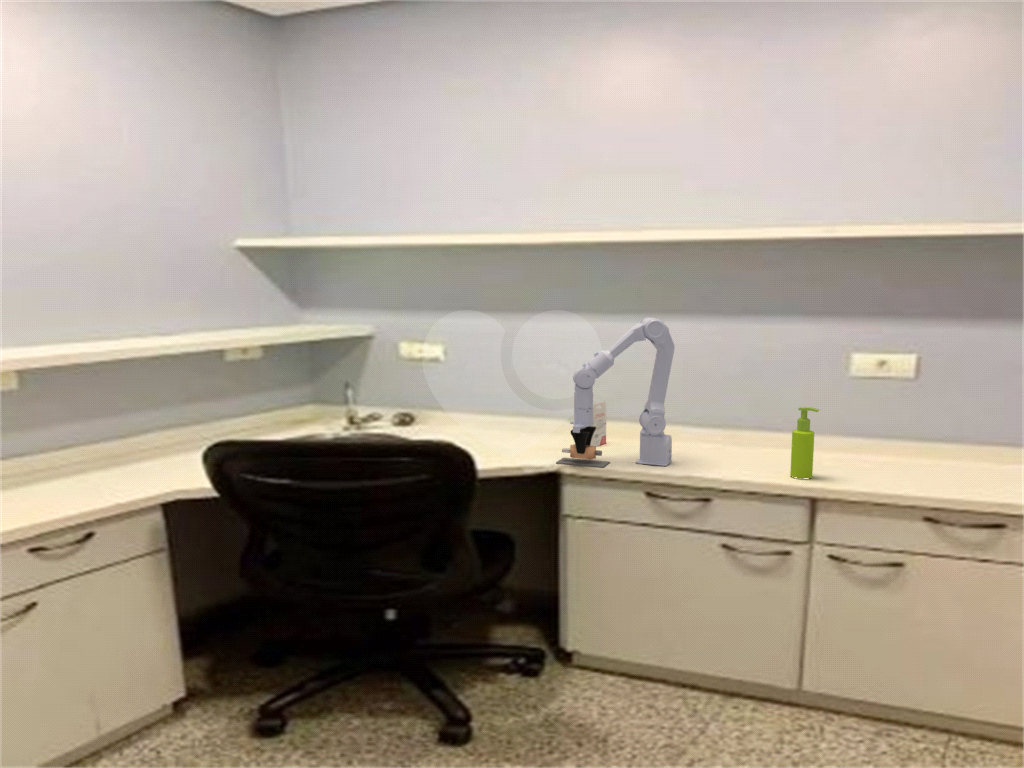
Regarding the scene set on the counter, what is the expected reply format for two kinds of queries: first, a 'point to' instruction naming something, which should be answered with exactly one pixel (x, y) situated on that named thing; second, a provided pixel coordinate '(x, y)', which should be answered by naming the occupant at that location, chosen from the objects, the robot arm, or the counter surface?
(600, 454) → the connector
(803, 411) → the soap dispenser
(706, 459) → the counter surface
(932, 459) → the counter surface
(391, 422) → the counter surface
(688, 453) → the counter surface
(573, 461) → the mat
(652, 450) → the robot arm
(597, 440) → the ink cartridge box
